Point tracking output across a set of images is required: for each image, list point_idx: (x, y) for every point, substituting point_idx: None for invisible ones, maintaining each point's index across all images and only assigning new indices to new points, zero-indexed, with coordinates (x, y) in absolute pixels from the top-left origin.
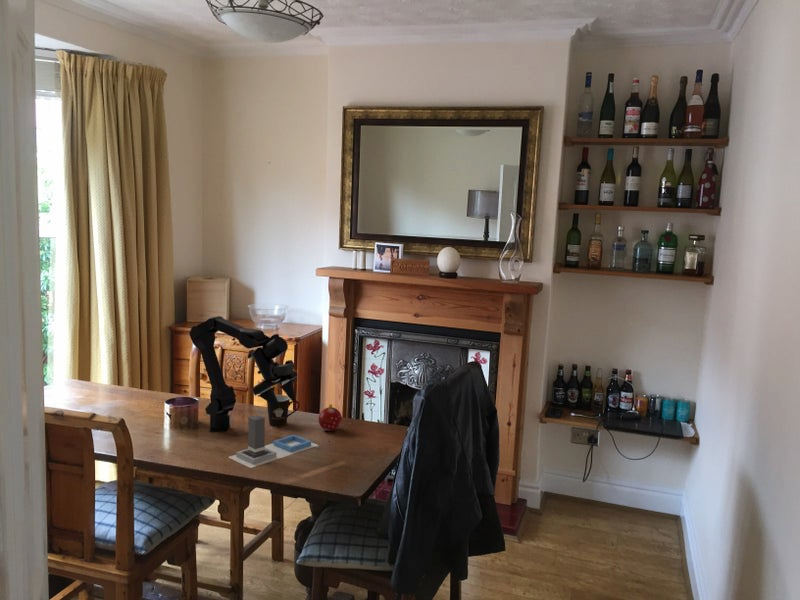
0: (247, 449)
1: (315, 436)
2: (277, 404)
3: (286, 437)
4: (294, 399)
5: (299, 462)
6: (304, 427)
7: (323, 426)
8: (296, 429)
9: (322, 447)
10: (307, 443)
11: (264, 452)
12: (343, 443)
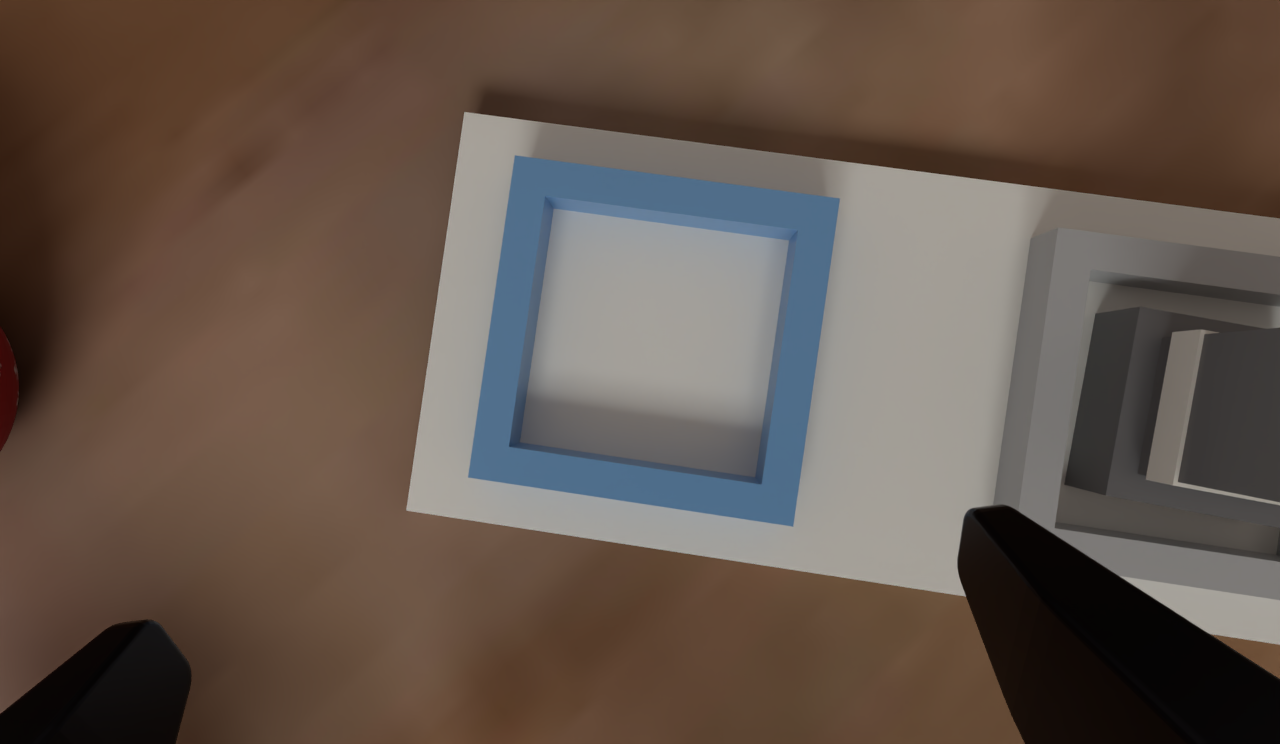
0: (1206, 569)
1: (218, 386)
2: (1113, 575)
3: (601, 483)
4: (133, 649)
5: (910, 14)
6: None
7: (10, 387)
8: None
9: (434, 105)
10: (577, 166)
11: (1182, 314)
12: (201, 5)
